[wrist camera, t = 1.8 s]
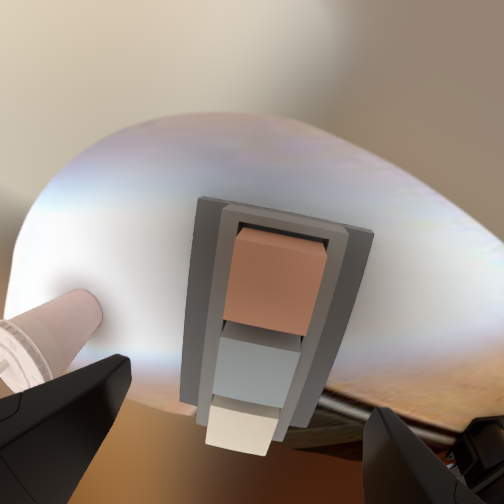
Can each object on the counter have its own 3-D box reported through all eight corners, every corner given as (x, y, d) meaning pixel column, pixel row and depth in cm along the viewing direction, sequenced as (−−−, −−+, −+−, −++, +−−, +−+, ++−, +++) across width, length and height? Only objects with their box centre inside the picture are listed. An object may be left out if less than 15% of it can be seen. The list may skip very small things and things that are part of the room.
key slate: (300, 329, 19) (300, 352, 16) (284, 383, 20) (282, 408, 17) (229, 315, 19) (220, 336, 17) (220, 370, 20) (212, 393, 18)
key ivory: (280, 394, 20) (278, 419, 18) (268, 432, 22) (265, 456, 19) (218, 381, 21) (210, 405, 18) (212, 420, 22) (205, 443, 19)
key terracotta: (322, 243, 17) (327, 256, 15) (304, 314, 18) (305, 336, 16) (243, 227, 17) (235, 238, 15) (231, 299, 19) (222, 319, 16)
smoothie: (84, 260, 23) (-51, 343, 9) (129, 325, 24) (24, 443, 10) (48, 293, 24) (-61, 369, 11) (88, 350, 25) (-3, 446, 12)
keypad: (370, 230, 19) (382, 241, 16) (306, 420, 24) (306, 445, 21) (202, 196, 20) (187, 202, 17) (183, 394, 25) (172, 416, 22)
